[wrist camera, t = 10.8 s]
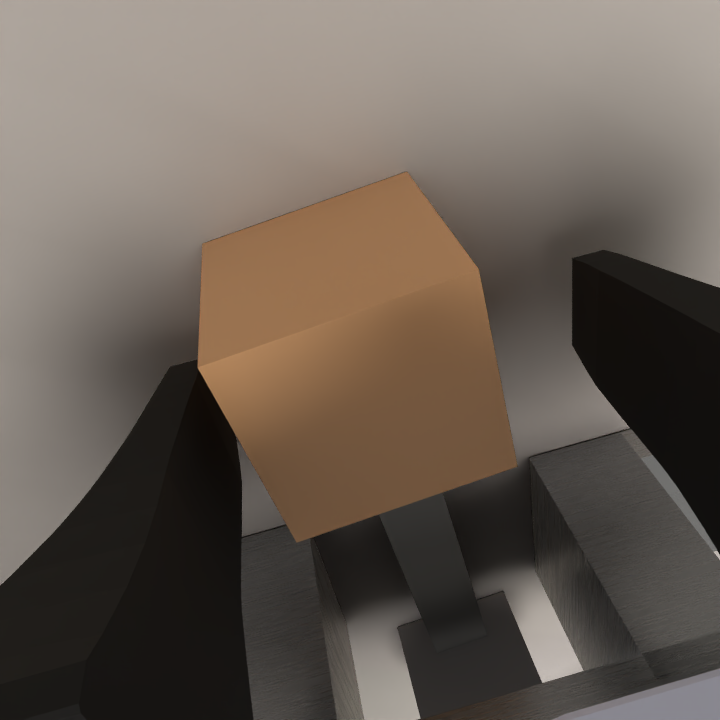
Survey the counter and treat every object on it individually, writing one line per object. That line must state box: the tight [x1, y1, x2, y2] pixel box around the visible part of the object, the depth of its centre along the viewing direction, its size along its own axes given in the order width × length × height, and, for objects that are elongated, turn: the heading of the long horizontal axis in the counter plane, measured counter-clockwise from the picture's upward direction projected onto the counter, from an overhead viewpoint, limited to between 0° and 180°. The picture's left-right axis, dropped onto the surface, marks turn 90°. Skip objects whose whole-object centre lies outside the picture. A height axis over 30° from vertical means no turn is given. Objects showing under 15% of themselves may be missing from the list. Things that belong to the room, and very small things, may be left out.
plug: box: [198, 172, 542, 719], centre depth 15 cm, size 16×4×4 cm, turn 16°
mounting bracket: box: [241, 429, 720, 720], centre depth 15 cm, size 5×18×7 cm, turn 102°
